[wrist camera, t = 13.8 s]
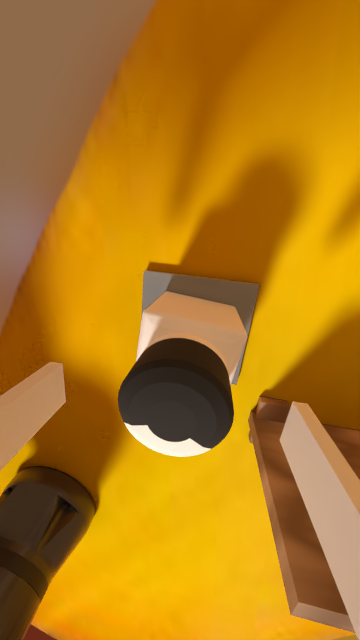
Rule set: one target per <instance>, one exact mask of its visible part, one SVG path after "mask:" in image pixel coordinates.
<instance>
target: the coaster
mask: <svg viewBox="0 0 360 640" xmlns="http://www.w3.org/2000/svg"><path fill="white" fill-rule="evenodd" d="M259 286H260V285H259V284H257V283H249V282H241V281H233V280H224V279H216V278H208V277H200V276H192V275H184V274H175V273H167V272H159V271H151V270H144V275H143V299H142V314H143V311H144V310H145V309H146V308H147V307H148V306H149V305H151V304H152V303H153V302H154V301H155V300H156V299H157V298H158V297H160V296H161V295H162V294H163V293H164V292H166V291H168V292H173V293H177V294H182V295H186V296H191V297H195V298H200V299H204V300H209V301H213V302H218V303H222V304H227V305H231V306H234V307H235V308H236V310H237V312H238V315H239V317H240V319H241V322H242V324H243V326H244V328H245V331H246V333H247V338H248V333H249V329H250V325H251V320H252V316H253V312H254V307H255V303H256V299H257V295H258V290H259ZM246 342H247V339H246ZM246 342H245V345H244V348H243V351H242V354H241V356H240V359H239V362H238V365H237V368H236V371H235V374H234V377H233V380H232V383H231V384H235V385H237V380H238V376H239V372H240V368H241V363H242V359H243V355H244V350H245V346H246Z"/></svg>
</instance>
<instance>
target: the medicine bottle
mask: <svg viewBox="0 0 360 640" xmlns="http://www.w3.org/2000/svg"><path fill="white" fill-rule="evenodd" d="M246 339H247V333H246V331H245V328H244V326H243V324H242V322H241V319H240V317H239V315H238V312H237V310H236V308H235V307H234V306H231V305H227V304H222V303H218V302H213V301H209V300H204V299H200V298H195V297H191V296H186V295H182V294H177V293H173V292H168V291H166V292H164V293H163V294H162V295H161V296H160V297H158V298H157V299H156V300H155V301H154V302H153V303H152V304H151V305H149V306H148V307H147V308H146V309H145V310H144V311H143V314H142V321H141V329H140V336H139V343H138V351H137V358H136V363H135V364H134V366H133V367H132V369H131V370H130V372H129V373H128V375H127V376H126V378H125V379H124V381H123V383H122V385H121V387H120V390H119V395H118V406H119V411H120V414H121V416H122V419H123V421H124V423H125V425H126V427H127V429H128V430H129V431H130V433H131V434H132V435H133V436H134V437H135V438H136V439H137V440H138V441H139V442H141V443H142V444H144V445H145V446H147V447H148V448H150V449H152V450H154V451H157V452H159V453H162V454H166V455H171V456H179V457H183V456H194V455H198V454H201V453H204V452H207V451H208V450H210V449H212V448H213V447H215V446H216V445H217V444H219V443H220V442H221V441H222V440H223V439H224V438H225V437H226V435H227V434H228V432H229V431H230V428H231V426H232V423H233V417H234V409H233V401H232V394H231V387H230V386H231V383H232V380H233V377H234V374H235V371H236V368H237V365H238V362H239V359H240V356H241V354H242V351H243V348H244V345H245V342H246Z"/></svg>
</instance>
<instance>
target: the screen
mask: <svg viewBox="0 0 360 640" xmlns="http://www.w3.org/2000/svg"><path fill="white" fill-rule="evenodd" d="M289 409H290V406H289V404H288V402H287V401H285V400H279V399H274V398H268V397H262V396H260V397H259V400H258V404H257V407H256V411H251V413H250V416H249V420H248V422H249V426H250V432H249V440H250V443H253V444H254V449H255V454H256V458H257V463H258V467H259V472H260V477H261V481H262V486H263V490H264V495H265V499H266V504H267V509H268V513H269V518H270V522H271V527H272V531H273V536H274V541H275V545H276V550H277V554H278V559H279V563H280V568H281V573H282V577H283V582H284V586H285V591H286V595H287V600H288V605H289V609H290V614H291V615H293V616H297V617H300V618H304V619H307V620H311V621H314V622H318V623H322V624H325V625H329V626H332V627H336V628H340V629H343V630H347V631H350V632H354V633H355V630H354V628H353V625H352V623H351V620H350V618H349V615H348V613H347V610H346V607H345V605H344V602H343V600H342V597H341V595H340V592H339V590H338V587H337V585H336V582H335V580H334V577H333V575H332V572H331V569H330V567H329V564H328V562H327V559H326V557H325V554H324V552H323V549H322V547H321V544H320V542H319V539H318V537H317V534H316V531H315V529H314V526H313V524H312V521H311V519H310V516H309V514H308V511H307V509H306V506H305V504H304V501H303V498H302V496H301V493H300V491H299V488H298V486H297V483H296V481H295V478H294V476H293V473H292V471H291V468H290V466H289V463H288V460H287V458H286V455H285V453H284V450H283V448H282V445H281V443H280V437H281V435H282V432H283V429H284V426H285V423H286V420H287V415H288V412H289ZM322 426H323V427H324V429H325V430H326V431H327V433H328V434H329V436H330V437H331V439H332V440H333V442H334V443H335V445H336V446H337V448H338V449H339V451H340V452H341V454H342V455H343V456H344V458H345V459H346V461H347V462H348V464H349V465H350V467H351V468H352V470H353V471H354V473H355V474H356V476H357V477H358V479H359V480H360V431H358V430H352V429H347V428H341V427H336V426H330V425H325V424H322Z"/></svg>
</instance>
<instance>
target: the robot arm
mask: <svg viewBox="0 0 360 640" xmlns="http://www.w3.org/2000/svg"><path fill="white" fill-rule="evenodd" d="M65 402H66V395H65V384H64V373H63V363H57V362H51V361H50V362H49V363H48V364H46V365H45V366H43V367H42V368H40V369H39V370H37V371H36V372H34V373H33V374H32V375H30V376H29V377H27V378H26V379H24V380H23V381H21V382H20V383H18V384H17V385H16V386H14V387H13V388H11V389H10V390H8V391H7V392H5V393H4V394H2V395H1V396H0V471H1V469H2V468H3V467H4V466H5V465H6V464H7V463H8V462H9V461H10V460H11V459H12V458H13V457H14V456H15V455H16V454H17V453H18V452H19V451H20V450H21V448H22V447H23V446H24V445H25V444H26V443H27V442H28V441H29V440H30V439H31V438H32V437H33V436H34V435H35V434H36V433H37V432H38V431H39V430H40V429H41V427H42V426H43V425H44V424H45V423H46V422H47V421H48V420H49V419H50V418H51V417H52V416H53V415H54V414H55V413H56V412H57V411H58V410H59V409H60V408H61V406H62V405H63V404H64V403H65ZM280 443H281V445H282V448H283V450H284V453H285V455H286V458H287V460H288V463H289V466H290V468H291V471H292V473H293V476H294V478H295V481H296V483H297V486H298V488H299V491H300V493H301V496H302V498H303V501H304V504H305V506H306V509H307V511H308V514H309V516H310V519H311V521H312V524H313V526H314V529H315V531H316V534H317V537H318V539H319V542H320V544H321V547H322V549H323V552H324V554H325V557H326V559H327V562H328V564H329V567H330V569H331V572H332V575H333V577H334V580H335V582H336V585H337V587H338V590H339V592H340V595H341V597H342V600H343V602H344V605H345V607H346V610H347V613H348V615H349V618H350V620H351V623H352V625H353V628H354V630H355V633H356V635H357V638H358V640H360V480H359V479H358V477H357V476H356V474H355V473H354V471H353V470H352V468H351V467H350V465H349V464H348V462H347V461H346V459H345V458H344V456H343V455H342V454H341V452H340V451H339V449H338V448H337V446H336V445H335V443H334V442H333V440H332V439H331V437H330V436H329V434H328V433H327V431H326V430H325V429H324V427H323V426H322V424H321V423H320V421H319V420H318V418H317V417H316V415H315V414H314V412H313V411H312V409H311V408H310V406H309V405H308V404H306V403H300V402H294V401H293V402H292V405H291V408H290V411H289V414H288V417H287V420H286V423H285V426H284V429H283V432H282V435H281V437H280ZM94 514H95V506H94V503H93V500H92V498H91V496H90V495H89V493H88V492H87V491H86V490H85V489H84V488H83V487H82V486H81V485H80V484H79V483H78V482H77V481H75V480H74V479H72V478H71V477H69V476H67V475H65V474H63V473H61V472H59V471H56V470H53V469H50V468H45V467H29V468H25V469H23V470H21V471H20V472H19V473H18V474H17V475H16V476H15V477H14V478H13V479H12V480H11V482H10V483H9V484H8V485H7V486H6V488H5V489H4V491H3V493H2V495H1V497H0V640H23V638H24V636H25V634H26V632H27V630H28V628H29V625H30V624H31V622H32V619H33V617H34V615H35V613H36V611H37V609H38V607H39V605H40V603H41V601H42V599H43V596H44V594H45V592H46V590H47V588H48V586H49V584H50V582H51V581H52V579H53V577H54V576H55V574H56V573H57V572H58V570H59V569H60V568H61V566H62V565H63V564H64V562H65V561H66V560H67V558H68V557H69V556H70V554H71V553H72V551H73V550H74V549H75V547H76V546H77V545H78V543H79V542H80V541H81V539H82V538H83V537H84V535H85V534H86V532H87V530H88V528H89V526H90V524H91V521H92V519H93V517H94Z"/></svg>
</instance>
